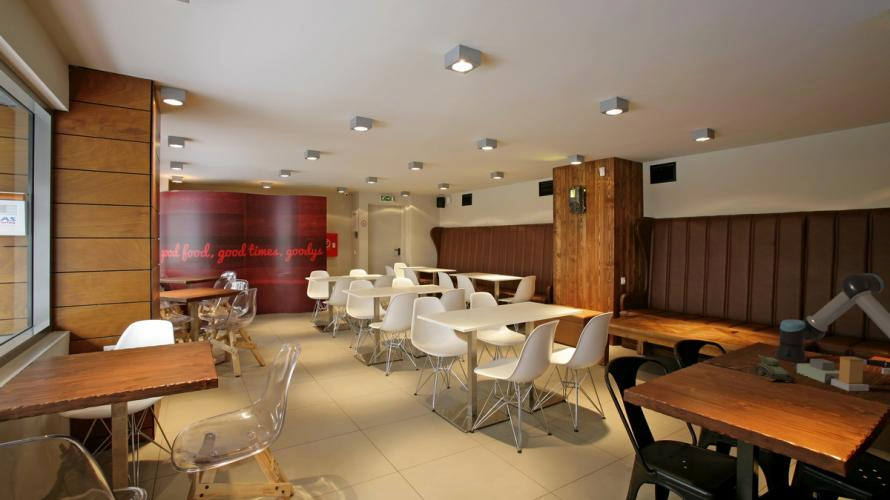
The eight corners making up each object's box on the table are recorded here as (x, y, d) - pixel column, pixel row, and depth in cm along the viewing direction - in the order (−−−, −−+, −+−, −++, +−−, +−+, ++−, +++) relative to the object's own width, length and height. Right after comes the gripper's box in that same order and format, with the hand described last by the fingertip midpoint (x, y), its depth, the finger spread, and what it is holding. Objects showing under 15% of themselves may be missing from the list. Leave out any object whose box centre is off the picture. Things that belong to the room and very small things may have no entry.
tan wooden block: (838, 385, 217) (840, 356, 217) (851, 386, 218) (853, 356, 217) (848, 389, 212) (850, 359, 212) (861, 389, 213) (863, 359, 212)
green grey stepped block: (793, 371, 239) (794, 355, 239) (815, 371, 240) (816, 355, 240) (846, 391, 210) (848, 372, 210) (871, 391, 211) (872, 372, 211)
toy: (767, 371, 238) (768, 353, 237) (791, 383, 219) (792, 364, 219) (748, 370, 239) (749, 353, 238) (770, 382, 220) (771, 363, 220)
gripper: (936, 383, 204) (895, 382, 203) (880, 366, 229) (842, 366, 228) (937, 367, 204) (896, 367, 203) (881, 352, 229) (843, 352, 228)
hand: (867, 366), depth 215 cm, fingers open, 13 cm apart
